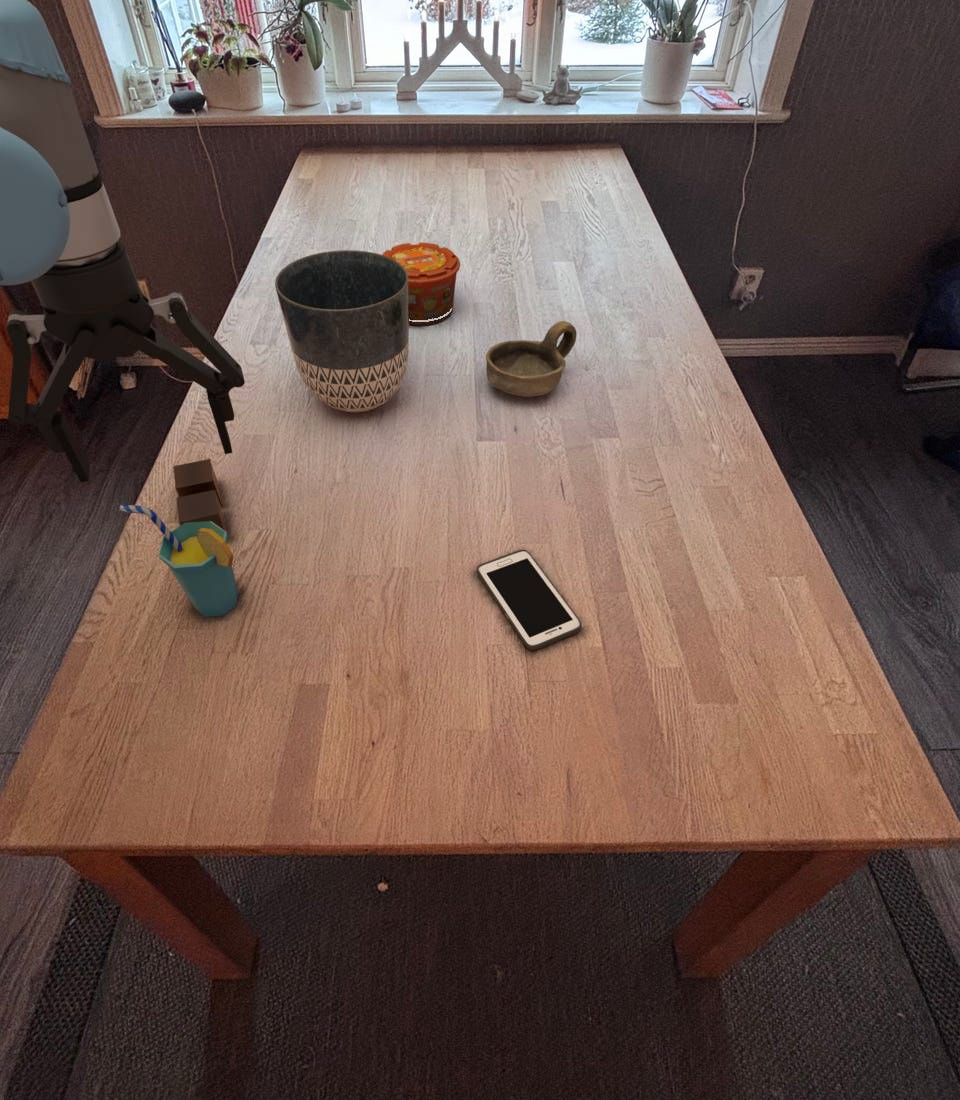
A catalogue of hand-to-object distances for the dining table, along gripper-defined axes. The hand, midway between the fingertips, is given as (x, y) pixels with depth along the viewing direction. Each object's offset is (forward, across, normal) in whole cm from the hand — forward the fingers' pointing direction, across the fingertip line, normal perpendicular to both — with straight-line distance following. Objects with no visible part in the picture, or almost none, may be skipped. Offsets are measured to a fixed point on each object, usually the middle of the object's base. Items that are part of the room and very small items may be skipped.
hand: (158, 459), depth 69 cm
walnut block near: (+23, 0, -13) cm, 26 cm away
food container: (+22, -47, -64) cm, 82 cm away
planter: (+23, -27, -37) cm, 51 cm away
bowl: (+22, -57, -32) cm, 69 cm away
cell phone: (+23, -37, +13) cm, 45 cm away
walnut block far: (+23, 0, -20) cm, 30 cm away
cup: (+23, +1, -1) cm, 23 cm away
